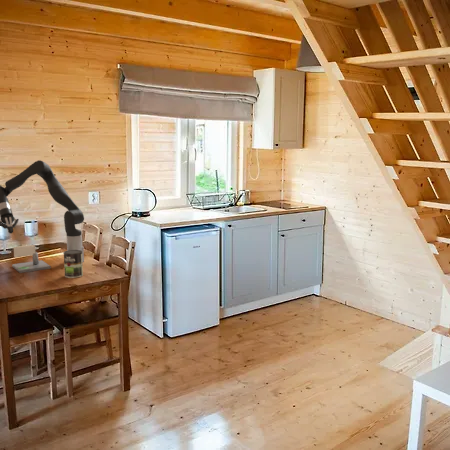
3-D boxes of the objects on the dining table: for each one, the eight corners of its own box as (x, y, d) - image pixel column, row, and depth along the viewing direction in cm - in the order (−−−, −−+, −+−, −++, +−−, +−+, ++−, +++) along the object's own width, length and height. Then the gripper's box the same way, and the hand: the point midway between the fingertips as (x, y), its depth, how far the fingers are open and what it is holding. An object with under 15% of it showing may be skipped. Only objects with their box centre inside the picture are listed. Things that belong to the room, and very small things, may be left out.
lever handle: (37, 262, 316) (36, 244, 314) (39, 263, 313) (38, 245, 311) (14, 265, 308) (13, 246, 306) (15, 267, 305) (14, 247, 303)
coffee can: (77, 278, 287) (76, 254, 285) (61, 277, 290) (59, 253, 287) (86, 273, 297) (85, 250, 295) (70, 272, 300) (69, 249, 297)
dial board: (42, 262, 324) (42, 260, 323) (50, 268, 309) (50, 265, 309) (12, 266, 313) (12, 264, 313) (19, 272, 299) (19, 270, 299)
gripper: (15, 213, 334) (21, 235, 326) (-7, 215, 326) (-1, 237, 319) (16, 206, 329) (23, 228, 321) (-6, 208, 321) (0, 230, 313)
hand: (11, 232), depth 320 cm, fingers closed
